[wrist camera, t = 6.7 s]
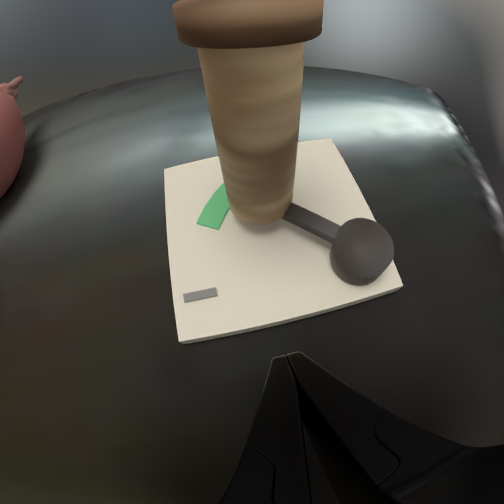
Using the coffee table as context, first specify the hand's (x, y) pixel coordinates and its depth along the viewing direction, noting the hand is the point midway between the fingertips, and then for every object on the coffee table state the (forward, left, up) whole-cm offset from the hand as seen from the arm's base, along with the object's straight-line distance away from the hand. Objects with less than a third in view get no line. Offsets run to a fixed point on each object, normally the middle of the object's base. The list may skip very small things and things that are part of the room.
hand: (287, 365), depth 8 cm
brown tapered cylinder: (+9, +1, -7) cm, 11 cm away
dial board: (+9, +3, -8) cm, 13 cm away
